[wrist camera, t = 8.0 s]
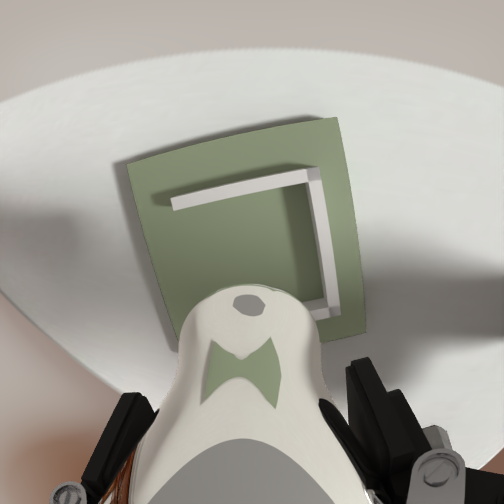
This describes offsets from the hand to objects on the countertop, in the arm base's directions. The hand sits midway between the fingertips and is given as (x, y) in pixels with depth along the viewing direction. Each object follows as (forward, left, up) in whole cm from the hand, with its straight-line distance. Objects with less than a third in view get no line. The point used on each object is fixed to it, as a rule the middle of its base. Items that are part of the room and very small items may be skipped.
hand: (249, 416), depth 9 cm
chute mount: (0, 0, -21) cm, 21 cm away
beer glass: (0, 0, -5) cm, 5 cm away
